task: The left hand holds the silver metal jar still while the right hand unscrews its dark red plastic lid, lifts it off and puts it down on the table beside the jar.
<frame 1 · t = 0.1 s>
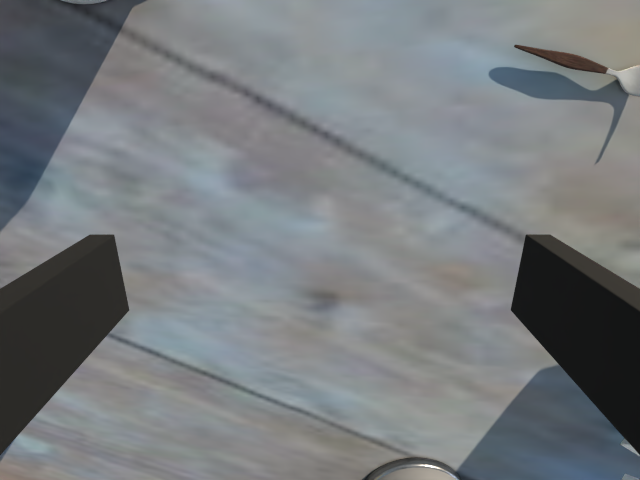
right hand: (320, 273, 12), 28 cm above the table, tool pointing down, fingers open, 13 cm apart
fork: (590, 68, 36), on the table
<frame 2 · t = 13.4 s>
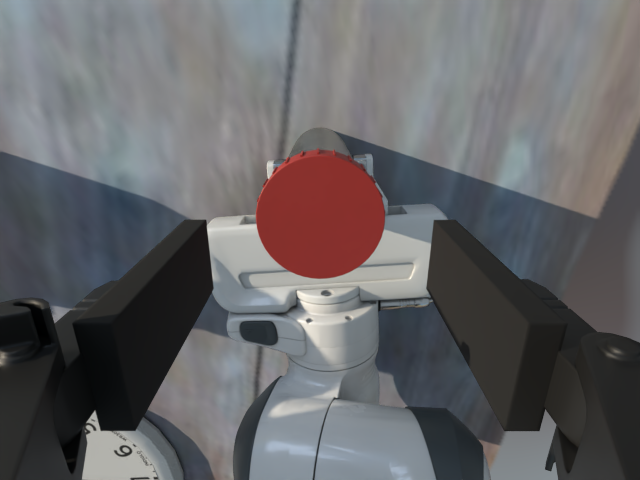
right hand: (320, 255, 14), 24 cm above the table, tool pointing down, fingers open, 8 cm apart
left hand: (318, 157, 30), fingers closed on jar, 5 cm apart
lid: (320, 218, 18), point 20 cm above the table, screwed on, not yet turned
wall clock: (71, 472, 51), on the table
jar: (320, 156, 36), on the table, touching left hand
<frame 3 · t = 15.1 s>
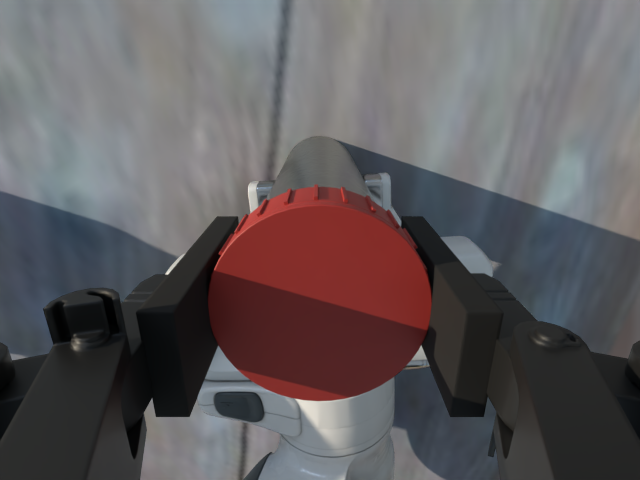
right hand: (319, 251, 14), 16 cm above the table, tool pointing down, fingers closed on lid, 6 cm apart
lid: (319, 306, 10), point 20 cm above the table, screwed on, not yet turned, touching right hand
jar: (319, 172, 29), on the table, touching left hand
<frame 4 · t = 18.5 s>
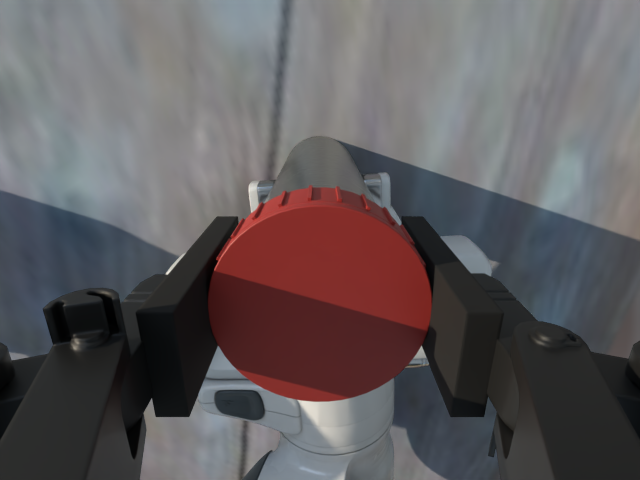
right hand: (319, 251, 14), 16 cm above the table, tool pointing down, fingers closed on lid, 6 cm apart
lid: (320, 307, 10), point 20 cm above the table, turned 118° so far, risen 0.2 cm, still on its thread, touching right hand
jar: (319, 172, 29), on the table, touching left hand
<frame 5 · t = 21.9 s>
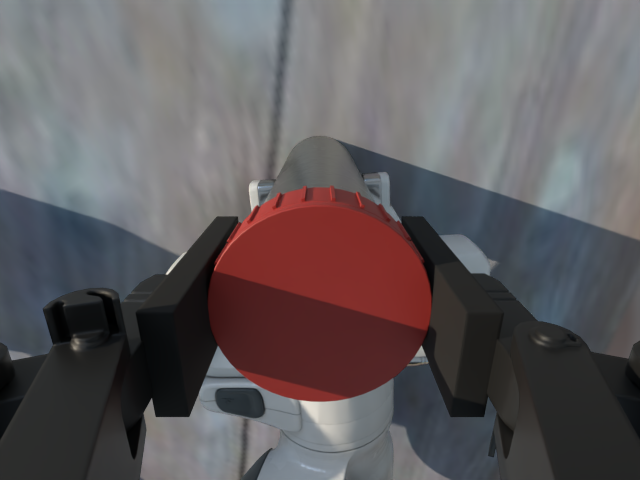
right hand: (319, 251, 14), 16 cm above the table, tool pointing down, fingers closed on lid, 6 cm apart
lid: (319, 307, 10), point 20 cm above the table, turned 236° so far, risen 0.4 cm, still on its thread, touching right hand
jar: (319, 171, 29), on the table, touching left hand
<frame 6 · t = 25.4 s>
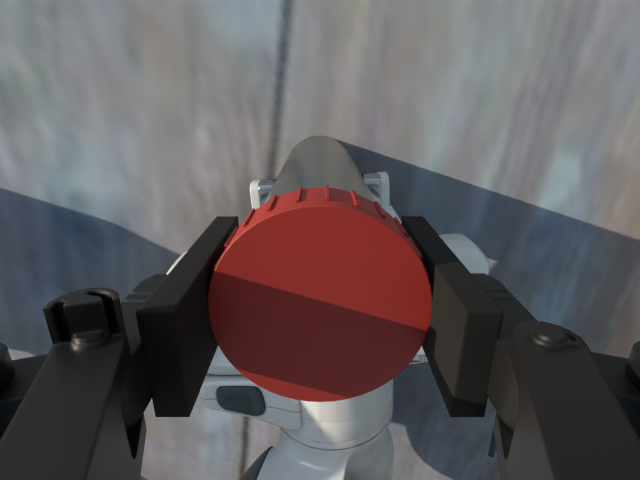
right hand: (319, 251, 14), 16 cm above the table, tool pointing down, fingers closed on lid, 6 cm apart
lid: (320, 307, 10), point 20 cm above the table, turned 354° so far, risen 0.5 cm, still on its thread, touching right hand
jar: (320, 171, 29), on the table, touching left hand
when the right hand's fingers open (0 cm above the table, at t = 32.2 s): lid drops 3 cm, point 2 cm above the table.
when the left hand's fingers open (7 cm above the table, at t = 32.9 s): jar stays where it is, on the table.
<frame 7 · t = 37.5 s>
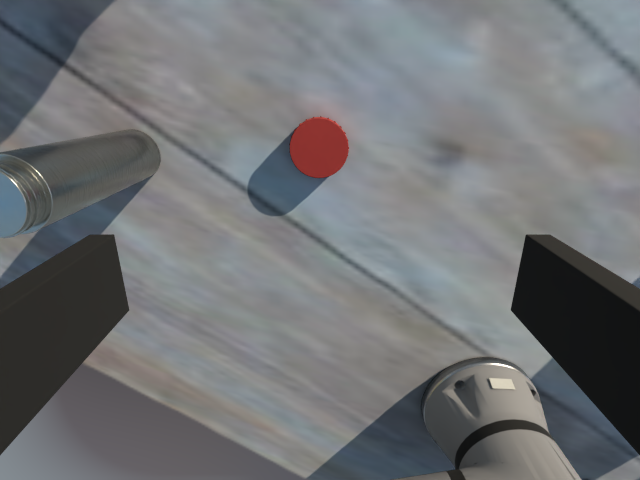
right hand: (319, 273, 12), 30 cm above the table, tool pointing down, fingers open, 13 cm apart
lid: (319, 148, 39), point 2 cm above the table, off its thread
jar: (135, 154, 41), on the table
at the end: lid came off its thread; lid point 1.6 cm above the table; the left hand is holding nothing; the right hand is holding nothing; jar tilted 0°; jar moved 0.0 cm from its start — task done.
